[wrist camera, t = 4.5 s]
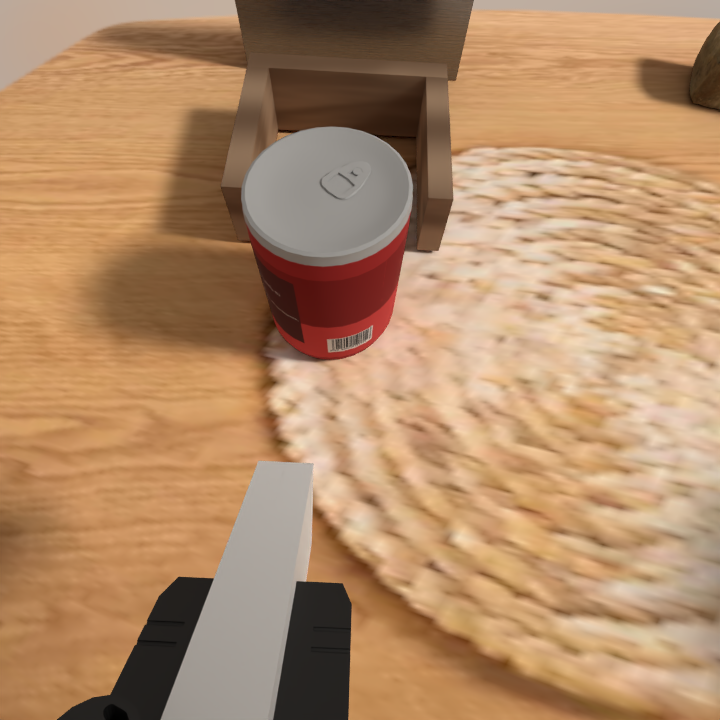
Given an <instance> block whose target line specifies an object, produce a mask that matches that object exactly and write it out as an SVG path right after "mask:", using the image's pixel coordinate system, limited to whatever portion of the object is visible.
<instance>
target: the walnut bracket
mask: <svg viewBox="0 0 720 720" xmlns="http://www.w3.org/2000/svg"><path fill="white" fill-rule="evenodd" d="M316 127H345V128H351V129H355V130H360V131H363V132H366V133H369V134H371V135H389V136H407V137H416V165H417V250H431V251H438V250H439V247H440V243H441V240H442V237H443V233H444V230H445V226H446V223H447V219H448V216H449V212H450V209H451V206H452V202H453V182H452V161H451V140H450V118H449V97H448V75H447V64H440V63H423V62H405V61H388V60H370V59H352V58H335V57H317V56H300V55H282V54H264V53H250V56H249V60H248V65H247V70H246V74H245V79H244V83H243V88H242V92H241V97H240V101H239V106H238V111H237V115H236V120H235V124H234V129H233V133H232V138H231V142H230V147H229V151H228V156H227V161H226V165H225V170H224V174H223V179H222V183H221V189H222V192H223V195H224V198H225V201H226V204H227V207H228V210H229V213H230V216H231V219H232V222H233V225H234V228H235V231H236V234H237V238H238V240H247V241H250V238H249V234H248V230H247V226H246V223H245V219H244V214H243V210H242V201H241V191H242V184H243V181H244V177H245V174H246V172H247V171H248V169H249V167H250V165H251V164H252V162H253V161H254V160H255V159H256V158H257V157H258V155H259V154H260V153H261V152H262V151H263V150H265V149H266V148H267V147H269V146H270V145H271V144H272V143H274V142H276V140H277V134H278V129H281V130H299V131H302V130H307V129H311V128H316Z"/></svg>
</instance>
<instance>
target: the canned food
mask: <svg viewBox="0 0 720 720" xmlns="http://www.w3.org/2000/svg"><path fill="white" fill-rule="evenodd" d="M412 193H413V184H412V178H411V174H410V171H409V169H408V167H407V164H406V163H405V161H404V160H403V158H402V157H401V156H400V154H399V153H398V152H397V151H396V150H395V149H394V148H392V147H391V146H390V145H389V144H388V143H386V142H384V141H383V140H381V139H379V138H378V137H376V136H374V135H371V134H369V133H366V132H363V131H360V130H355V129H351V128H345V127H316V128H311V129H307V130H302V131H299V132H296V133H293V134H290V135H287V136H285V137H283V138H281V139H280V140H278V141H276V142H274V143H272V144H271V145H270V146H269V147H267V148H266V149H265V150H263V151H262V152H261V153H260V154H259V155H258V157H257V158H256V159H255V160H254V161H253V162H252V164H251V165H250V167H249V169H248V171H247V172H246V174H245V177H244V181H243V184H242V191H241V201H242V210H243V214H244V219H245V223H246V226H247V230H248V234H249V238H250V242H251V245H252V248H253V252H254V255H255V258H256V262H257V265H258V268H259V272H260V275H261V278H262V282H263V285H264V288H265V292H266V295H267V298H268V302H269V305H270V308H271V312H272V315H273V319H274V322H275V325H276V327H277V329H278V331H279V333H280V334H281V335H282V336H283V338H284V339H285V340H286V341H287V342H288V343H289V344H291V345H292V346H293V347H294V348H296V349H297V350H298V351H300V352H302V353H304V354H306V355H308V356H311V357H315V358H319V359H329V360H332V359H342V358H346V357H349V356H353V355H355V354H357V353H359V352H361V351H363V350H365V349H366V348H367V347H369V346H370V345H371V344H373V343H374V342H375V341H376V340H377V339H378V337H379V336H380V335H381V334H382V333H383V332H384V330H385V329H386V327H387V325H388V324H389V321H390V318H391V315H392V312H393V307H394V302H395V296H396V291H397V286H398V281H399V276H400V270H401V265H402V260H403V255H404V249H405V244H406V239H407V234H408V228H409V221H410V215H411V210H412V200H413V194H412Z"/></svg>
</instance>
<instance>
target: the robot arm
mask: <svg viewBox="0 0 720 720" xmlns="http://www.w3.org/2000/svg"><path fill="white" fill-rule="evenodd" d="M313 466H314V464H311V463H292V462H273V461H258V464H257V466H256V469H255V472H254V474H253V477H252V480H251V482H250V485H249V487H248V490H247V493H246V495H245V498H244V501H243V503H242V506H241V509H240V511H239V514H238V517H237V519H236V522H235V524H234V527H233V530H232V532H231V535H230V538H229V540H228V543H227V546H226V548H225V551H224V554H223V556H222V559H221V561H220V564H219V567H218V569H217V572H216V575H215V577H214V579H213V578H192V577H178V578H177V579H176V580H175V581H174V582H173V583H172V584H171V585H170V586H169V587H168V588H167V589H166V590H165V591H164V592H163V593H162V594H161V595H160V596H159V597H158V600H157V602H156V604H155V606H154V608H153V610H152V612H151V614H150V616H149V618H148V620H147V624H146V625H145V626H144V628H143V630H142V632H141V634H140V636H139V638H138V640H137V645H135V646H134V648H133V650H132V652H131V654H130V656H129V658H128V660H127V662H126V664H125V666H124V668H123V670H122V672H121V674H120V676H119V678H118V680H117V682H116V684H115V686H114V688H113V690H112V692H111V694H110V695H107V696H100V697H93V698H91V699H89V700H87V701H84V702H82V703H80V704H78V705H76V706H74V707H72V708H71V709H70V710H68V711H67V712H66V713H65V714H63V715H62V716H61V717H60V718H58V719H57V720H348V709H349V675H350V641H351V607H352V604H351V602H350V599H349V597H348V595H347V593H346V590H345V588H344V586H343V583H323V582H306V578H307V571H308V564H309V557H310V551H311V544H312V507H313Z"/></svg>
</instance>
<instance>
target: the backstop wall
mask: <svg viewBox="0 0 720 720" xmlns="http://www.w3.org/2000/svg"><path fill="white" fill-rule="evenodd" d="M473 1H474V0H235V3H236V8H237V13H238V18H239V23H240V28H241V33H242V38H243V44H244V49H245V54H246V59H247V64H248V60H249V56H250V53H264V54H282V55H300V56H317V57H335V58H352V59H370V60H388V61H405V62H423V63H440V64H447V75H448V80H456V77H457V73H458V68H459V64H460V59H461V55H462V50H463V46H464V41H465V37H466V33H467V28H468V24H469V19H470V15H471V10H472V6H473Z"/></svg>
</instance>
